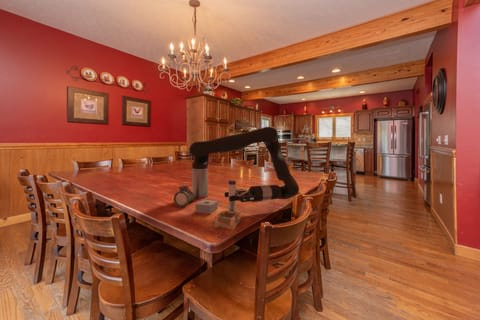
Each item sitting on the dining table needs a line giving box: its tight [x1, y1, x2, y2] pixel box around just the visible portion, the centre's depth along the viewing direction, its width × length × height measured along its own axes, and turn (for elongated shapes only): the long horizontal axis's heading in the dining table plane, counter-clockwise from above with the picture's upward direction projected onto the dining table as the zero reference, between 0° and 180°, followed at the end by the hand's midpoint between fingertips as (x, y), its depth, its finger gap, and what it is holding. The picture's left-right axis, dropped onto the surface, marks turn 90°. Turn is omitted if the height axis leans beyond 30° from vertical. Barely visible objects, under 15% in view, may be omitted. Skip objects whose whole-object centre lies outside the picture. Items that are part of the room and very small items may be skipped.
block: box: [194, 199, 219, 215], centre depth 104 cm, size 8×8×4 cm
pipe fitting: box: [173, 185, 195, 208], centre depth 115 cm, size 12×8×10 cm
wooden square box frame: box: [214, 210, 241, 230], centre depth 87 cm, size 8×8×4 cm
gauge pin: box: [227, 180, 237, 212], centre depth 97 cm, size 3×3×16 cm
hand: (227, 196), depth 96 cm, fingers open, 6 cm apart
